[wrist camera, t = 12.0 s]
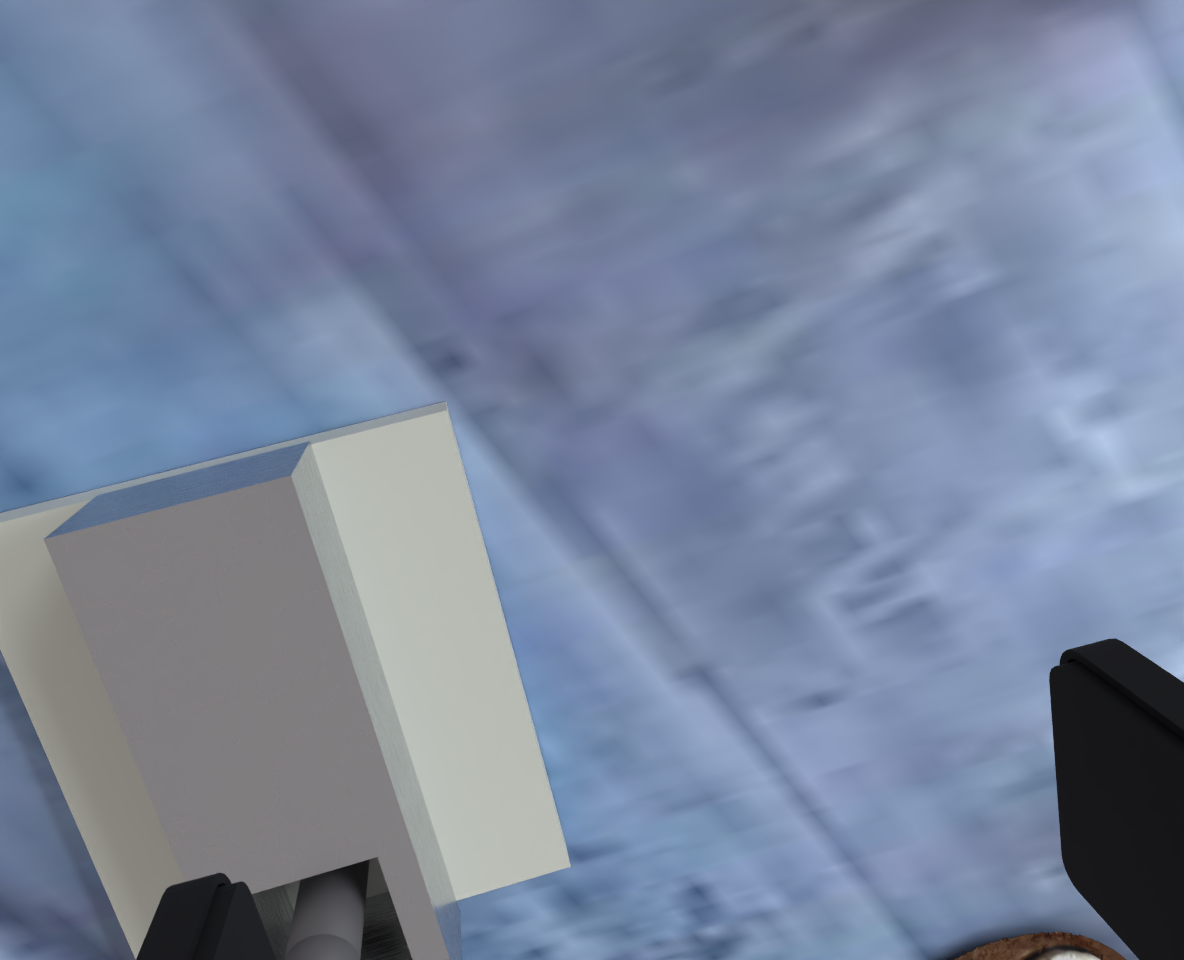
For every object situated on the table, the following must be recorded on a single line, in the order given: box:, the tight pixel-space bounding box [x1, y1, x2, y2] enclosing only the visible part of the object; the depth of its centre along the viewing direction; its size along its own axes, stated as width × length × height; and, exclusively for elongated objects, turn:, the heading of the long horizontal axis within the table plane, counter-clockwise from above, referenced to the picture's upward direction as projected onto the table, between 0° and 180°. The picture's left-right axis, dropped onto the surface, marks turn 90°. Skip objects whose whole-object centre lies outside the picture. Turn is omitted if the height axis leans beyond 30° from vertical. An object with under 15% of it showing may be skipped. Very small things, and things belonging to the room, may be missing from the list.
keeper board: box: [0, 401, 571, 960], centre depth 28 cm, size 16×14×8 cm
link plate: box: [44, 441, 462, 960], centre depth 28 cm, size 16×6×4 cm, turn 13°
